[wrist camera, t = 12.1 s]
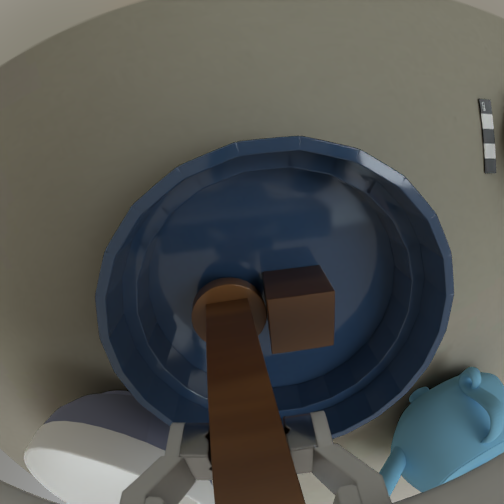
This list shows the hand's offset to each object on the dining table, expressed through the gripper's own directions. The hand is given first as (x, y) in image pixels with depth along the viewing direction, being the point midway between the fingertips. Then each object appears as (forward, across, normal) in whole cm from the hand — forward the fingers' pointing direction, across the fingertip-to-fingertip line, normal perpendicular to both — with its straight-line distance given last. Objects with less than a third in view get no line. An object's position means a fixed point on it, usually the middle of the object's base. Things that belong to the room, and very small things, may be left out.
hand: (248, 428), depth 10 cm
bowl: (+11, +12, +13) cm, 21 cm away
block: (+10, -3, 0) cm, 11 cm away
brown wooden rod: (+9, +1, 0) cm, 9 cm away
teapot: (+11, -18, +17) cm, 27 cm away
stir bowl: (+11, -2, 0) cm, 11 cm away
